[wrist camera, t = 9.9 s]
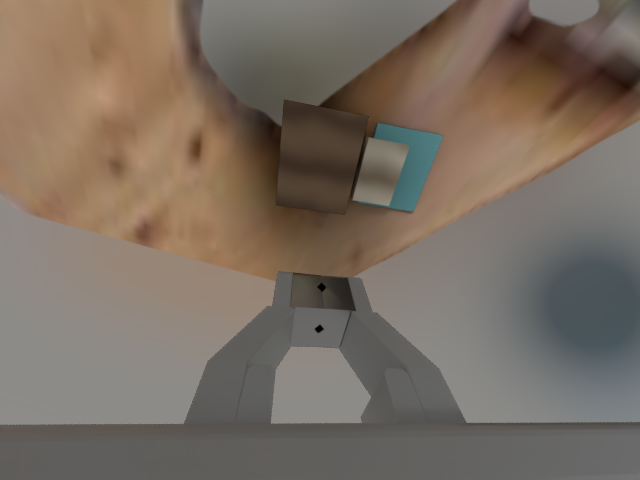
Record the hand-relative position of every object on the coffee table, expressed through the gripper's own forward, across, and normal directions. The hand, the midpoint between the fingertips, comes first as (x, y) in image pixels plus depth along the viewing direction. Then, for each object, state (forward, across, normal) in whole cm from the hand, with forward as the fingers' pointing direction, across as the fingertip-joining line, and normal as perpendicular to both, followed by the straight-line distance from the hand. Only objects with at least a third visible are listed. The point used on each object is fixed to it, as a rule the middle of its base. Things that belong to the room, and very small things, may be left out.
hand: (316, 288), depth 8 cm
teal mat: (+29, -14, +1) cm, 32 cm away
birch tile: (+29, -11, +2) cm, 31 cm away
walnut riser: (+29, -2, +1) cm, 29 cm away
